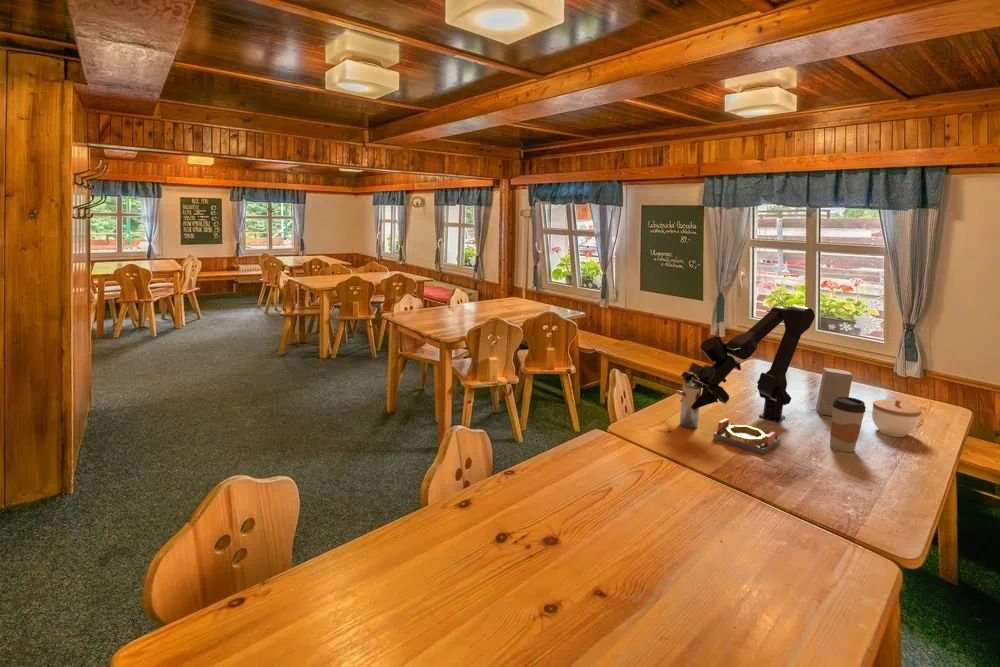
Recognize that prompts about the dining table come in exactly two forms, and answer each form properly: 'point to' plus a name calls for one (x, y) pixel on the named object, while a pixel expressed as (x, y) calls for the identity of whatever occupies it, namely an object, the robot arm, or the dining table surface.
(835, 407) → the coffee cup
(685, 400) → the spout can
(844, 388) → the skincare box
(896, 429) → the lidded bowl
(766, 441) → the grey base with ring
